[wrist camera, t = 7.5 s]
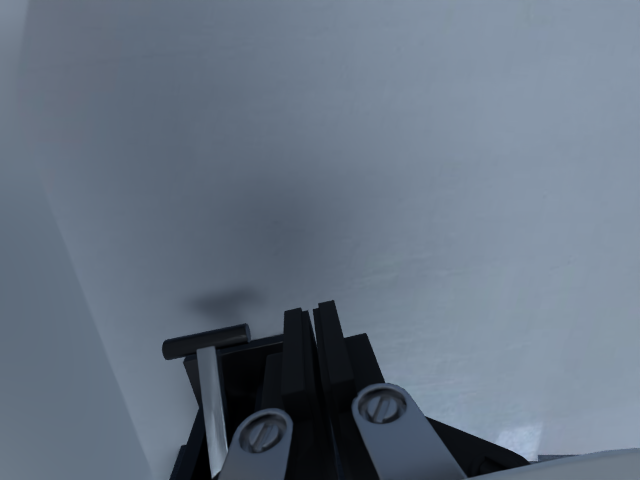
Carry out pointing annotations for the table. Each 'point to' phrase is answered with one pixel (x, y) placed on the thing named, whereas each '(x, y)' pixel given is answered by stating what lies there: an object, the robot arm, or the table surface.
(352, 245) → the table surface
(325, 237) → the table surface
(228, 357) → the lever bracket
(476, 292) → the table surface
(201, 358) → the toaster lever
